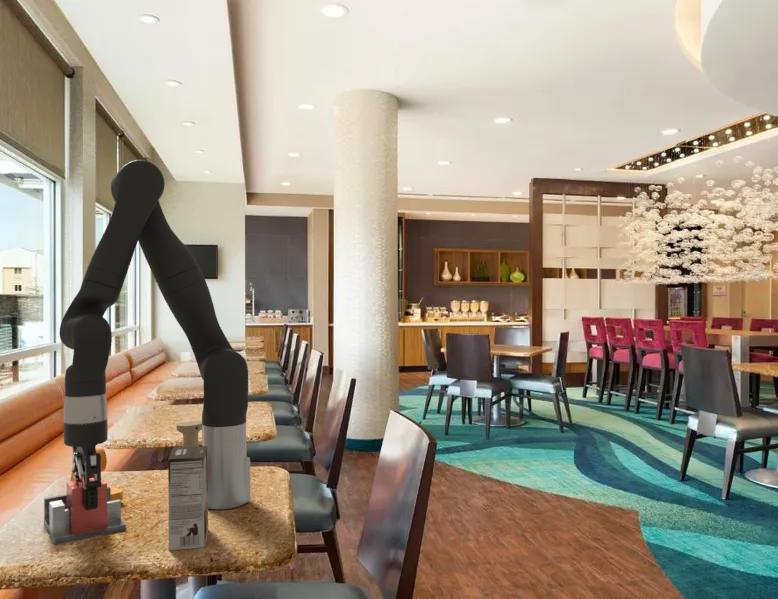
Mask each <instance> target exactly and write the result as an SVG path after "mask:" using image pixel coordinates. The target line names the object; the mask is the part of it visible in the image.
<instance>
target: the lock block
mask: <svg viewBox="0 0 778 599" xmlns="http://www.w3.org/2000/svg"><path fill="white" fill-rule="evenodd" d="M91 481H94V478H89V482H91ZM101 482H102V484H101V487H99V488H98V507H97V508H96V509H92V510H85V508H84V489H83V480H76V481H66V484H65V485H66V494H67V509H71V531H72V533H74V532H79V531H84V530H89V529H94V528H99V527H103V526H107V484H108V483H107V482H106V480H104V479H103V478H102V477H101Z"/></svg>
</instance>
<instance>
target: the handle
mask: <svg viewBox="0 0 778 599" xmlns="http://www.w3.org/2000/svg"><path fill="white" fill-rule="evenodd" d="M175 426H176V431H177V432H179V433H181V434H182V439H183V440H182V447H185V446H196V447H198V446H200V445H199V432H200V431H202V420H192V421H185V422H180V423H177V424H176V425H175Z"/></svg>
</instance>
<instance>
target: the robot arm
mask: <svg viewBox="0 0 778 599" xmlns="http://www.w3.org/2000/svg"><path fill="white" fill-rule="evenodd" d="M164 190H165V178H164V175H163V173H162V171H161V170H160V168H159V167H158V166H157V165H156V164H154V163H153V162H151V161H147V160H143V159H136V160H132V161H128V163H125V164H124V165H123V166H122V167H121V168H120V169H119V170H118V171H117V172H116V174H115V175H114V177H113V178H112V180H111V184H110V192H111V197H112V198H113V200H114V202H115V203H114V207H113V210H112V213H111V215H110V219H109V221H108V224H107V225H106V228H105V230H104V232H103V234H102V236H101V238H100V240H99V241H98V244H97V246H96V248H95V250H94V252H93V254H92V257H91V259H90V261H89V264H88V266H87V268H86V271H85V274H84V277H83V280H82V282H81V286H80V288H79V290H78V293H77V294H76V295H75V297H74V298H73V300H72V301H71V303H70V305H69V306H68V308H67V310H66V311H65V313H64V316H63V318H62V320H61V323H60V325H59V326H60V327H59V338H60V342H61V343H62V344H63V345H64V346H65V347H66V348H68V349H71V350H73V355H72V363H71V365H69V366H68V367H67V368H66V369H65V374H64V403H63V444H64V445H65V446H67V447H70V448H72V468H73V470H72V469H71V473H72V472H73V474H74V477H75V479H76V480H83V489H84V508H85V510H92V509H96V508H97V507H98V488H99V487H101V484H102V482H101V478H102V472H101V456H100V454H99V453H96V447H97V446H98V445H101V444H104V443H105V442H107V441H108V437H109V435H108V400H107V385H106V384H107V377H106V369H107V365H108V364H109V363H108V362H109V360H110V353H111V347H112V341H113V339H112V338H113V334H112V329H111V326H110V324H109V321H108V320H107V319H106V318H105V317H104V316H105V313H106V311H107V310H108V309H109V308H110V307H112V306H114V305H115V304H116V303H117V301H118V299H119V298H120V295H121V294H120V293H121V291H122V289H123V286H124V283H125V280H126V277H127V274H128V272H129V268H130V265H131V263H132V260H133V257H134V253H135V251H136V248H137V244H139V245H140V247H141V248H140V249H141V250H142V253H143V255H144V258H145V260H146V262H147V264H148V266H149V268H150V271H151V273H152V275H153V278H154V279H155V283H156V284H157V287H158V289H159V290H160V293H161V294H162V297H163V299H164V300H165V303H166V304H167V306H168V308H169V310H170V311H171V314H172V315H173V317H174V318H175V320H176V323H178V325H179V326H180V328H181V329H182V331H183V333H184V334H185V336H186V338H187V340H188V343H189V345H190V348H191V350H192V352H193V355H194V358H195V361H196V364H197V368H198V371H199V375H200V377H201V379H202V381H203V406H202V413H201V421H202V430H201V440H202V441H201V446H207V469H208V470H207V473H208V510H209V509H211V510H228V509H234V508H237V507H242V506H243V505H245V504H247V503H251V458H250V457H249V456H247V412H248V408H249V368H248V363H247V361H246V359H245V358H244V356H243V355H242V354H241V353H239V352H238V351H236V350H235V349H234V348H233V347H232V345H231V343H230V342H229V340H228V339H227V336H226V335H225V334H224V332H223V329H222V328H221V326H220V323H219V321H218V317H217V314H216V310H215V307H214V306H215V305H214V303H213V299H212V295H211V292H210V289H209V286H208V284H207V281H206V278H205V276H204V274H203V271H202V270H201V268H200V266H199V263H198V262H197V260H196V258H195V257H194V255H193V254H192V253H191V251H190V250H189V249H188V247H187V245H185V244H184V243H183V241H182V240H181V239H180V238H179V237H178V236H177V235H176V233H175V232H174V230H173V229H172V228H171V226H170V224H169V223H168V221H167V219H166V217H165V214H164V211H163V209H162V206H161V203H160V201H159V200H160V199H161V197H162V196H163V194H164ZM89 478H94V481H91V482H89Z"/></svg>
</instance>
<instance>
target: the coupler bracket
mask: <svg viewBox="0 0 778 599" xmlns="http://www.w3.org/2000/svg"><path fill="white" fill-rule="evenodd" d="M43 523H44V526H45V527H46V530H47V533H49V534H48V535H49V536H50V538H51V540H52V542H53V545H54V546H56V545H60V544H65V543H70V542H74V541H79V540H80V541H81V540H84V539H88V538H89V539H90V538H92V537H93V538H94V537H98V536H104V535H108V534H112V533H117V532H121V531H126V530H127V529H126V528H127V527H126V526H127V524H126V523H125V521H123V519H122V501H120V500H114V501H111V488H110V487H107V526H103V527H99V528H94V529H89V530H84V531H79V532H74V533H72V531H71V509H67V493H65V494H58V495H52V496H47V497H46V496H45V497H43Z"/></svg>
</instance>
